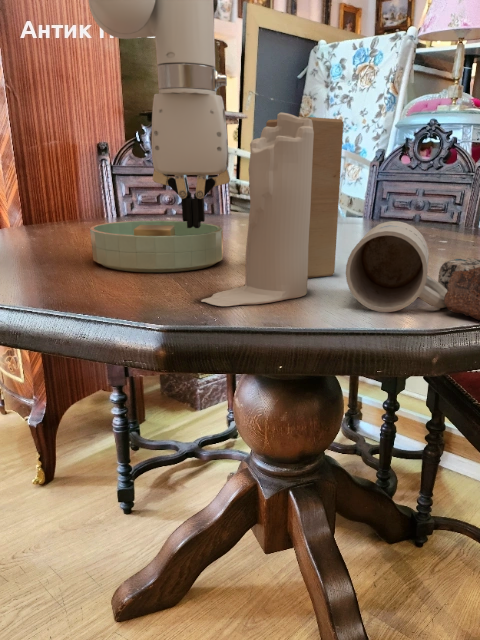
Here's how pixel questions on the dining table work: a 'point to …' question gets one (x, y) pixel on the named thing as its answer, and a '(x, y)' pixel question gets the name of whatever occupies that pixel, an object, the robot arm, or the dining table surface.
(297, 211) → the candle
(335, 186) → the decorative block
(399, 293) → the mug
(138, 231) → the block
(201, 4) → the robot arm
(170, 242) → the bowl
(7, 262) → the dining table surface
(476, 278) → the stone
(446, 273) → the rock
